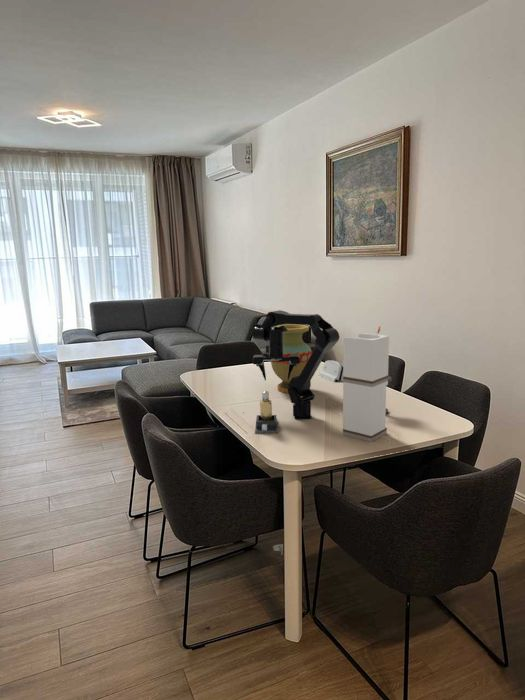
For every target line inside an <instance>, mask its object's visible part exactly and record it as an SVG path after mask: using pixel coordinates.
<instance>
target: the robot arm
mask: <svg viewBox="0 0 525 700" xmlns="http://www.w3.org/2000/svg"><path fill="white" fill-rule="evenodd" d="M288 324H298V325H307V326H309V328H310V329H311V332H312V334H313V336H314V337H315V340H314V349H313V350H312V354H311V356H310V358H309V359H308V361H307V363H306V365H305V367H304V368H303V370H302V372H301V374H300V375H299V376H296V377H293V378H292V379H291V381H290V383H289V385H288V386H289V387H288V393H287V394H288V395H289V398H290V402H291V404H292V414H293V415H292V416H293V417H294V419H295V420H303V419H305V420H311V419H312V415H311V414H312V412H311V411H312V409H311V408H312V405H311V404H312V402H311V401H314V398H315V394H314V393H313V391H312V390H311V386H312V385H311V384H312V383H311V382H312V381H311V380H312V379H313V377H314V375H315V373H316V371H317V370H318V368H319V366H320V365H321V363H322V361H323V360H324V357H325V356H326V355H327V352H328V351H330V350H331V349H332V348H334V346H335V345H336V344H337V343H338V342H339V340H340V333H339V331H338V330H337V329H336V328H334V327H333V325H332V324H331V323H329V322H328V321H326V320H325V318H323V317H322V316H321V315H320V314H318V313H315V314H307V313H290V312H287V311H285V310H273V311H268V312H267V313H266V316H265V319H264V321H263V322H262V323H255V327H254V328H253V330H252V334H251V335H252V338H253V340H256V341H264V342H268V345H265V354H267V355H268V356H264V355H263V354H254V355H253V357H252V365H256V367H258V368H259V370H260V372H261V374H262V376H263V379H264V381H267V375H266V374H267V373H266V369H265V367H266V366H265V362H267V363H268V362H270V363H271V362H276V361H289V367H288V376H287V378H288V380H289V377H290V374H291V371H292V369H293V367H294V366H297V364H299V363H300V357H299V355H298V354H290V357H283V332H286V331H288V330H287V329H286V328H285V327H284V325H288ZM278 325H283V326H280V327H274V326H278Z"/></svg>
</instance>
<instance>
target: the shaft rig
mask: <svg viewBox="0 0 525 700" xmlns="http://www.w3.org/2000/svg"><path fill="white" fill-rule="evenodd" d="M254 433H255V434H278V418H277V414H272V421H261V414H257V415H256V420H255V428H254Z"/></svg>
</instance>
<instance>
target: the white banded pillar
mask: <svg viewBox="0 0 525 700" xmlns="http://www.w3.org/2000/svg"><path fill="white" fill-rule="evenodd" d="M389 348H390V335H385V334H384V335H383V334H379V335H377V334H374V333H373V334H372V333H366V332H365V333H363V332H359V333H358V337H351V336H343V355H342V356H343V363H342V365H343V381H342V383H343V384H342V385H343V386H342V400H343V401H342V435H343V436H344V435H345V436H347V437H352V438H356V439H360V440H362V441H363V440H364V441H366V442H371V443H372V442H374V441H376V440H377V439H379V438H381V437H382V436H384V435H386V434H387V433H388V432H387V431H388V430H387V427H386V415H387V414H386V406H387V405H386V404H387V403H386V402H387V386H388V385H389V382H388V375H389V360H390V359H389V354H390V353H389V351H390V349H389Z"/></svg>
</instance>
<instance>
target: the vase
mask: <svg viewBox="0 0 525 700" xmlns="http://www.w3.org/2000/svg"><path fill="white" fill-rule="evenodd" d="M283 325H284V327H285V328H286V329H287V330H288V331H286V332H283V357H290V354H298V355H299V357H300V363H299V364H297V366H294V367H293V369H292V371H291V374H290V377H289V380H288V378H287V376H288V367H289V361H276V362H270V364H271V365H270V366H271V368H272V371H273V373H274V374H275V375H276V377H278V378H279V379H280V380H281V382H280V383H278V384H277V391H278V392H280V393H284V394H285V393H286V394H289V393H288V387H289V386H288V385H289V383H290V381H291V379H292V378H293V377H296V376H299V375H300V374H301V372H302V370H303V368H304V367H305V365H306V363H307V361H308V359H309V358H310V356H311V354H312V352H313V350H312V349H311V348H312V347H311V346H309V345H308V344H307V343H306V342H304V340H303V334H304V333H306V332H308V331H309V330H310V326H309V325H300V324H282V325H278V326H274V327H280V326H283Z"/></svg>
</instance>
